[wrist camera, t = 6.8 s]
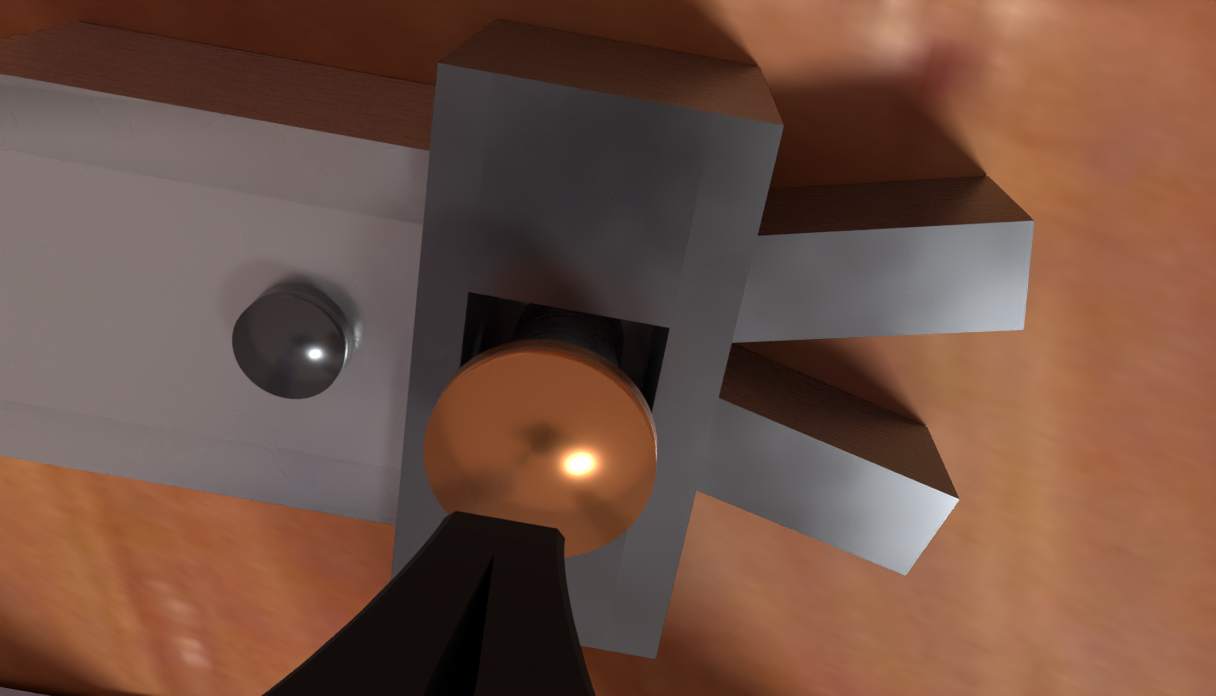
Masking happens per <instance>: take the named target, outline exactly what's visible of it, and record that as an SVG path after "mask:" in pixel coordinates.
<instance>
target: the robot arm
mask: <svg viewBox="0 0 1216 696" xmlns="http://www.w3.org/2000/svg"><path fill="white" fill-rule="evenodd" d="M564 545H565V537H564V536H563V535H562V534H561V532H560V531H559V530H558V528H552V527H546V526H541V525H535V524H529V523H523V522H518V521H512V520H506V519H500V518H495V517H489V516H483V515H477V514H472V513H466V512H460V511H454V512H453V513H451V514H449V515H448V516H446V517H445V518H444V519H443V521H442V522H441V524H440V525H439V526H438V528H437V529H436V530H435V531H434V533H433V534H432V535H431V536H430V538H429V539H428V540H427V541H426V543H425V544H424V545H423V546H422V547H421V548H420V550H419V551H418V552H417V553H416V554H415V555H414V556H413V558H412V559H411V560H410V561H409V562H408V563H407V564H406V565H405V566H404V567H403V569H402V570H401V571H400V572H399V573H398V574H397V575H396V576H395V577H394V578H393V579H392V580H391V581H390V582H389V583H388V584H387V585H386V586H385V587H384V588H383V589H382V590H381V591H380V592H379V593H378V594H377V595H376V596H375V597H374V598H373V600H372V601H371V602H370V603H369V604H368V605H367V606H366V607H365V608H364V609H363V610H362V611H361V612H360V613H358V614H357V615H356V616H355V617H354V618H353V619H352V620H351V621H350V622H349V623H348V624H347V625H346V626H344V627H343V628H342V629H341V630H340V631H339V632H338V633H337V634H335V635H334V636H333V637H332V638H331V639H330V640H329V641H328V642H326V643H325V644H324V645H323V646H322V647H321V648H320V649H319V650H317V651H316V652H315V653H314V654H313V655H312V656H311V657H310V658H308V659H307V660H306V661H305V662H304V663H302V664H301V665H300V666H299V667H298V668H296V669H295V670H294V671H293V672H291V673H290V674H289V675H288V676H286V677H285V678H284V679H283V680H281V681H280V682H279V683H278V684H276V685H275V686H274V687H272V688H271V689H270V690H269V691H267V692H266V693H265V694H263V695H262V696H595V693H594V690H593V687H592V684H591V681H590V677H589V674H588V671H587V668H586V664H585V661H584V657H583V653H582V650H581V646H580V642H579V638H578V634H577V631H576V627H575V623H574V618H573V614H572V609H571V604H570V598H569V592H568V587H567V580H566V572H565V559H564ZM0 696H49V695H43V694H37V693H32V692H26V691H20V690H14V689H9V688H3V687H0Z"/></svg>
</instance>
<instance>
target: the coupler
mask: <svg viewBox="0 0 1216 696" xmlns="http://www.w3.org/2000/svg"><path fill="white" fill-rule="evenodd" d="M783 128H784V124H783V122H782V119H781V117H780V114H779V112H778V110H777V107H776V105H775V102H774V100H773V97H772V95H771V93H770V90H769V88H768V85H767V83H766V81H765V78H764V76H763V73H762V71H761V69H760V67H759V66H753V65H748V64H742V63H737V62H731V61H726V60H720V59H715V58H709V57H704V56H698V55H693V54H687V53H681V52H676V51H670V50H665V49H659V48H654V47H648V46H643V45H637V44H632V43H626V42H621V41H615V40H610V39H604V38H599V37H593V36H588V35H582V34H577V33H571V32H566V31H560V30H555V29H549V28H544V27H538V26H533V25H527V24H521V23H516V22H510V21H505V20H499V19H496V20H494V21H493V22H492V23H490V24H489V25H488V26H486V27H485V28H484V29H482V30H481V31H480V32H478V33H477V34H476V35H474V36H473V37H472V38H470V39H469V40H468V41H466V42H465V43H464V44H462V45H461V46H459V47H458V48H457V49H455V50H454V51H453V52H451V53H450V54H449V55H447V56H446V57H445V58H443V59H442V60H441V61H439V62H438V64H437V75H436V86H435V98H434V109H433V120H432V131H431V142H430V153H429V164H428V175H427V187H426V198H425V209H424V220H423V231H422V242H421V253H420V264H419V275H418V287H417V298H416V309H415V320H414V331H413V342H412V353H411V364H410V376H409V387H408V398H407V409H406V420H405V431H404V442H403V453H402V465H401V476H400V487H399V498H398V509H397V520H396V531H395V542H394V553H393V565H392V576H391V580H392V579H393V578H394V577H395V576H396V575H397V574H398V573H399V572H400V571H401V570H402V569H403V567H404V566H405V565H406V564H407V563H408V562H409V561H410V560H411V559H412V558H413V556H414V555H415V554H416V553H417V552H418V551H419V550H420V548H421V547H422V546H423V545H424V544H425V543H426V541H427V540H428V539H429V538H430V536H431V535H432V534H433V533H434V531H435V530H436V529H437V528H438V526H439V525H440V524H441V522H442V521H443V519H444V518H445V517H446V516H448V514H447V513H446V511H445V510H444V509H443V508H442V506H441V505H440V503H439V502H438V500H437V498H436V497H435V495H434V493H433V491H432V488H431V486H430V484H429V482H428V478H427V474H426V471H425V466H424V458H423V444H424V437H425V431H426V428H427V425H428V422H429V419H430V416H431V414H432V412H433V410H434V408H435V406H436V403H437V401H438V399H439V397H440V395H441V393H442V391H443V390H444V388H445V386H446V384H447V383H448V382H449V380H450V379H451V378H452V376H453V375H454V374H455V373H456V372H457V371H458V370H459V369H460V368H461V367H462V366H463V365H464V364H466V363H467V362H468V361H470V360H471V359H472V358H474V357H475V356H477V355H479V354H481V353H482V352H484V351H486V350H488V349H491V348H493V347H496V346H498V345H502V344H506V343H509V342H511V339H512V336H513V334H514V331H515V328H516V326H517V323H518V320H519V318H520V315H521V314H522V312H523V310H524V309H525V307H526V306H527V305H528V304H529V303H534V304H539V305H545V306H550V307H556V308H562V309H567V310H573V311H578V312H584V313H590V314H595V315H601V316H606V317H612V318H618V319H619V320H620V322H621V326H622V329H623V335H624V344H623V352H622V360H621V367H620V370H622V371H623V372H624V373H625V374H626V375H627V376H628V377H629V378H630V379H631V380H632V381H633V383H634V384H635V385H636V386H637V387H638V389H639V390H640V392H641V393H642V395H643V396H644V398H645V400H646V402H647V404H648V406H649V408H650V410H651V413H652V416H653V420H654V423H655V428H656V434H657V460H656V474H655V481H654V486H653V489H652V492H651V496H650V498H649V500H648V502H647V504H646V506H645V508H644V510H643V511H642V513H641V514H640V516H639V517H638V519H637V520H636V521H635V522H634V523H633V524H632V525H631V526H630V527H629V528H628V529H627V530H626V531H625V532H624V533H623V534H621V535H620V536H619V537H618V538H616V539H614V540H613V541H611V542H610V543H608V544H606V545H604V546H602V547H600V548H598V549H596V550H593V551H590V552H587V553H584V554H581V555H577V556H572V557H567V558H564V559H565V572H566V580H567V587H568V592H569V598H570V604H571V609H572V614H573V618H574V623H575V627H576V631H577V634H578V638H579V642H580V646H584V647H590V648H596V649H601V650H607V651H613V652H618V653H624V654H630V655H635V656H641V657H647V658H652V659H656V655H657V651H658V647H659V643H660V639H661V635H662V630H663V626H664V622H665V618H666V614H667V610H668V605H669V601H670V597H671V593H672V589H673V585H674V581H675V576H676V572H677V568H678V564H679V560H680V556H681V551H682V547H683V543H684V539H685V535H686V531H687V527H688V522H689V518H690V514H691V510H692V506H693V502H694V497H695V493H696V490H697V491H700V492H702V493H704V494H707V495H709V496H712V497H714V498H717V499H719V500H722V501H724V502H726V503H729V504H731V505H734V506H736V507H739V508H741V509H744V510H746V511H748V512H751V513H753V514H756V515H758V516H761V517H763V518H766V519H768V520H771V521H773V522H775V523H778V524H780V525H783V526H785V527H788V528H790V529H793V530H795V531H797V532H800V533H802V534H805V535H807V536H810V537H812V538H815V539H817V540H819V541H822V542H824V543H827V544H829V545H832V546H834V547H837V548H839V549H841V550H844V551H846V552H849V553H851V554H854V555H856V556H859V557H861V558H863V559H866V560H868V561H871V562H873V563H876V564H878V565H881V566H883V567H886V568H888V569H890V570H893V571H895V572H898V573H900V574H903V575H905V576H906V574H907V573H908V571H909V570H910V569H911V567H912V566H913V564H914V563H915V561H916V560H917V559H918V557H919V556H920V554H921V553H922V552H923V550H924V549H925V547H926V546H927V545H928V543H929V542H930V540H931V539H932V538H933V536H934V535H935V533H936V532H937V530H938V529H939V528H940V526H941V525H942V523H943V522H944V521H945V519H946V518H947V516H948V515H949V514H950V512H951V511H952V509H953V508H954V507H955V505H956V504H957V502H958V501H959V497H958V495H957V493H956V490H955V488H954V486H953V484H952V481H951V479H950V477H949V475H948V473H947V470H946V468H945V466H944V464H943V461H942V459H941V457H940V455H939V452H938V450H937V448H936V446H935V443H934V441H933V439H932V437H931V435H930V432H929V430H928V428H927V427H925V426H923V425H920V424H918V423H916V422H913V421H911V420H909V419H906V418H904V417H902V416H899V415H897V414H895V413H892V412H890V411H888V410H885V409H883V408H881V407H878V406H876V405H874V404H871V403H869V402H867V401H864V400H862V399H860V398H857V397H855V396H853V395H850V394H848V393H846V392H843V391H841V390H839V389H836V388H834V387H832V386H829V385H827V384H825V383H822V382H820V381H818V380H815V379H813V378H811V377H808V376H806V375H804V374H801V373H799V372H797V371H794V370H792V369H790V368H787V367H785V366H783V365H780V364H778V363H776V362H773V361H771V360H769V359H766V358H764V357H762V356H759V355H757V354H755V353H752V352H750V351H748V350H745V349H743V348H741V347H738V346H736V345H734V344H732V343H738V342H760V341H782V340H804V339H827V338H849V337H871V336H893V335H915V334H938V333H960V332H982V331H1004V330H1023V329H1024V319H1025V309H1026V299H1027V289H1028V278H1029V268H1030V258H1031V248H1032V238H1033V228H1034V220H1033V219H1032V218H1031V217H1030V216H1029V215H1028V214H1027V213H1026V212H1025V211H1024V210H1023V209H1022V208H1021V207H1020V206H1019V205H1018V204H1017V203H1015V202H1014V201H1013V200H1012V199H1011V198H1010V197H1009V196H1008V195H1007V194H1006V193H1005V192H1004V191H1003V190H1002V189H1001V188H1000V187H999V186H998V185H997V184H996V183H995V182H994V181H993V180H992V179H991V178H990V177H989V176H985V177H968V178H951V179H934V180H918V181H901V182H884V183H867V184H850V185H833V186H816V187H799V188H782V189H769V186H770V182H771V178H772V174H773V169H774V165H775V161H776V157H777V153H778V149H779V144H780V140H781V136H782V132H783Z"/></svg>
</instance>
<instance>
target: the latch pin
mask: <svg viewBox="0 0 1216 696" xmlns="http://www.w3.org/2000/svg"><path fill="white" fill-rule="evenodd" d="M623 344H624V335H623V329H622V326H621V322H620V320H619V319H618V318H612V317H606V316H601V315H595V314H590V313H584V312H578V311H573V310H567V309H562V308H556V307H550V306H545V305H539V304H534V303H529V304H528V305H527V306H526V307H525V309H524V310H523V312H522V314H521V315H520V318H519V320H518V323H517V326H516V328H515V331H514V334H513V336H512V339H511V342H509V343H506V344H502V345H498V346H496V347H493V348H491V349H488V350H486V351H484V352H482V353H481V354H479V355H477V356H475V357H474V358H472V359H471V360H470V361H468V362H467V363H466V364H464V365H463V366H462V367H461V368H460V369H459V370H458V371H457V372H456V373H455V374H454V375H453V376H452V378H451V379H450V380H449V382H448V383H447V384H446V386H445V388H444V390H443V391H442V393H441V395H440V397H439V399H438V401H437V403H436V406H435V408H434V410H433V412H432V414H431V416H430V419H429V422H428V425H427V428H426V431H425V437H424V444H423V458H424V466H425V471H426V474H427V478H428V482H429V484H430V486H431V488H432V491H433V493H434V495H435V497H436V498H437V500H438V502H439V503H440V505H441V506H442V508H443V509H444V510H445V511H446V513H447V514H448V515H449V514H451V513H453V512H454V511H460V512H466V513H472V514H477V515H483V516H489V517H495V518H500V519H506V520H512V521H518V522H523V523H529V524H535V525H541V526H546V527H552V528H558V530H559V531H560V532H561V534H562V535H563V536H564V537H565V545H564V558H567V557H572V556H577V555H581V554H584V553H587V552H590V551H593V550H596V549H598V548H600V547H602V546H604V545H606V544H608V543H610V542H611V541H613V540H614V539H616V538H618V537H619V536H620V535H621V534H623V533H624V532H625V531H626V530H627V529H628V528H629V527H630V526H631V525H632V524H633V523H634V522H635V521H636V520H637V519H638V517H639V516H640V514H641V513H642V511H643V510H644V508H645V506H646V504H647V502H648V500H649V498H650V496H651V492H652V489H653V486H654V481H655V474H656V460H657V434H656V428H655V423H654V420H653V416H652V413H651V410H650V408H649V406H648V404H647V402H646V400H645V398H644V396H643V395H642V393H641V392H640V390H639V389H638V387H637V386H636V385H635V384H634V383H633V381H632V380H631V379H630V378H629V377H628V376H627V375H626V374H625V373H624V372H623V371H622V370H620V367H621V360H622V352H623Z"/></svg>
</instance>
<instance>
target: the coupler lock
mask: <svg viewBox="0 0 1216 696" xmlns="http://www.w3.org/2000/svg"><path fill="white" fill-rule="evenodd" d="M434 98H435V86H433V85H428V84H422V83H417V82H411V81H406V80H400V79H395V78H389V77H384V76H378V75H372V74H367V73H361V72H356V71H350V70H345V69H339V68H334V67H328V66H323V65H317V64H311V63H306V62H300V61H295V60H289V59H284V58H278V57H273V56H267V55H262V54H256V53H251V52H245V51H239V50H234V49H228V48H223V47H217V46H212V45H206V44H201V43H195V42H190V41H184V40H178V39H173V38H167V37H162V36H156V35H151V34H145V33H140V32H134V31H129V30H123V29H118V28H112V27H106V26H101V25H95V24H90V23H84V22H79V21H77V22H73V23H69V24H64V25H60V26H56V27H51V28H47V29H43V30H38V31H34V32H30V33H26V34H21V35H17V36H13V37H8V38H4V39H0V456H6V457H11V458H17V459H23V460H28V461H34V462H40V463H45V464H51V465H57V466H62V467H68V468H74V469H79V470H85V471H91V472H96V473H102V474H108V475H113V476H119V477H125V478H130V479H136V480H142V481H147V482H153V483H159V484H164V485H170V486H176V487H181V488H187V489H193V490H198V491H204V492H210V493H216V494H221V495H227V496H233V497H238V498H244V499H250V500H255V501H261V502H267V503H272V504H278V505H284V506H289V507H295V508H301V509H306V510H312V511H318V512H323V513H329V514H335V515H340V516H346V517H352V518H357V519H363V520H369V521H374V522H380V523H386V524H391V525H396V520H397V509H398V498H399V487H400V476H401V465H402V453H403V442H404V431H405V420H406V409H407V398H408V387H409V376H410V364H411V353H412V342H413V331H414V320H415V309H416V298H417V287H418V275H419V264H420V253H421V242H422V231H423V220H424V209H425V198H426V187H427V175H428V164H429V153H430V142H431V131H432V120H433V109H434Z"/></svg>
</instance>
